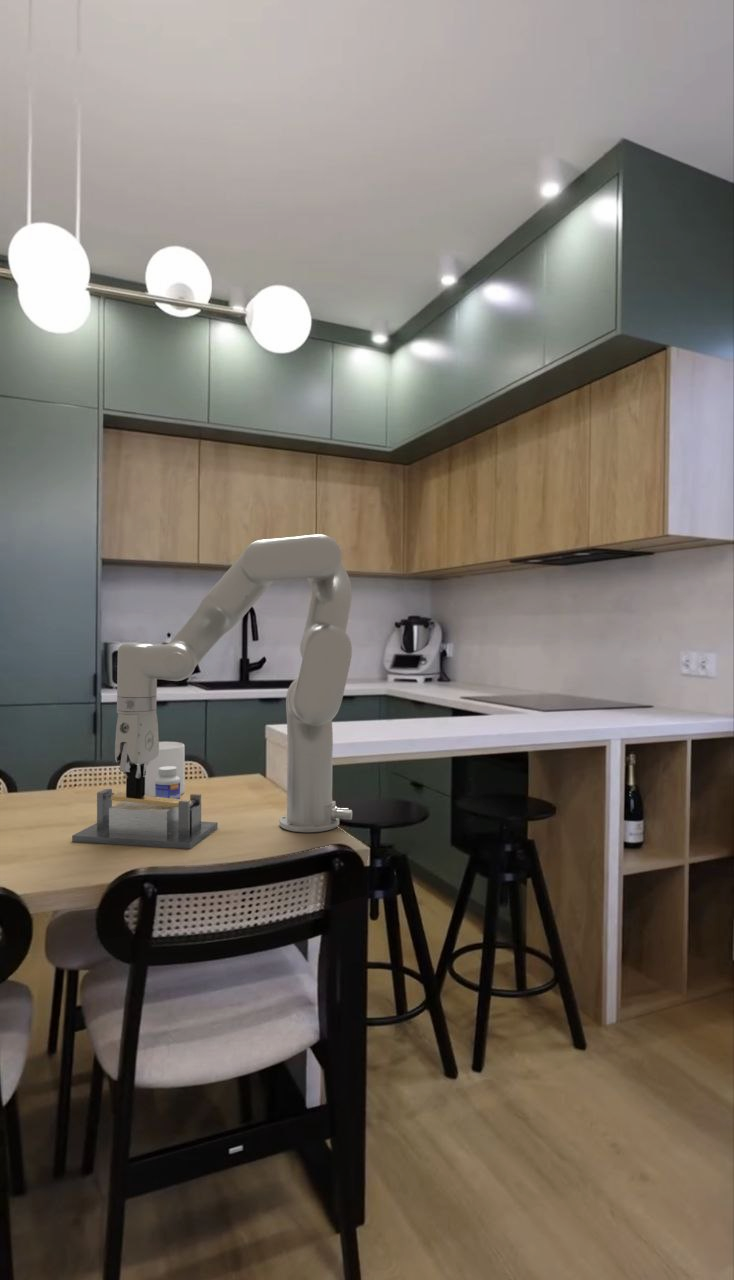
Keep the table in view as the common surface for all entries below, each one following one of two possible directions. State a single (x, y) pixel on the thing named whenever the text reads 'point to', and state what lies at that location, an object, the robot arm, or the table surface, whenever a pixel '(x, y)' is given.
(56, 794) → the table surface
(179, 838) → the base
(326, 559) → the robot arm
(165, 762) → the cup
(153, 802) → the strap
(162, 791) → the pill bottle
